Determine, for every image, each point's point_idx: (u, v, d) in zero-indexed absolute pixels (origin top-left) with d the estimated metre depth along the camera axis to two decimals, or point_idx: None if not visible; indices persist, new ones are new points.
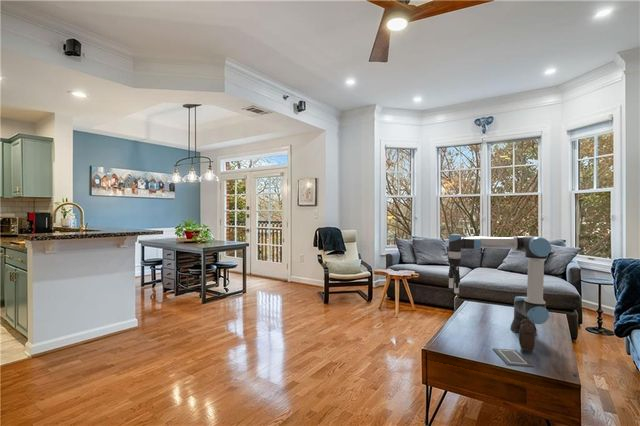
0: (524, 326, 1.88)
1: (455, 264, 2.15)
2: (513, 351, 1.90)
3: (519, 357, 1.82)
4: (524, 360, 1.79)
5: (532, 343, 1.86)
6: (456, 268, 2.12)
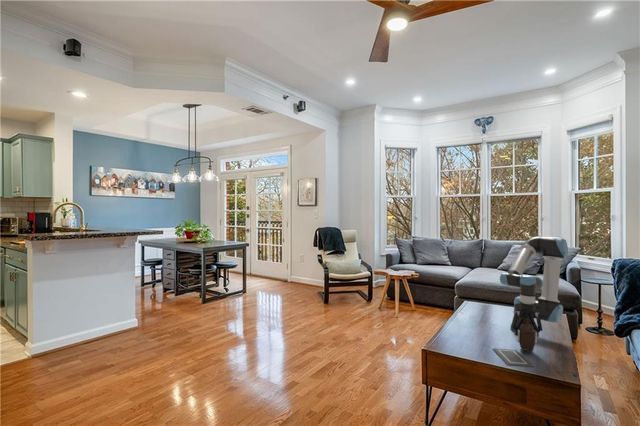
0: (524, 326, 1.88)
1: (520, 308, 1.93)
2: (513, 351, 1.90)
3: (519, 357, 1.82)
4: (524, 360, 1.79)
5: (532, 343, 1.86)
6: (514, 313, 1.94)
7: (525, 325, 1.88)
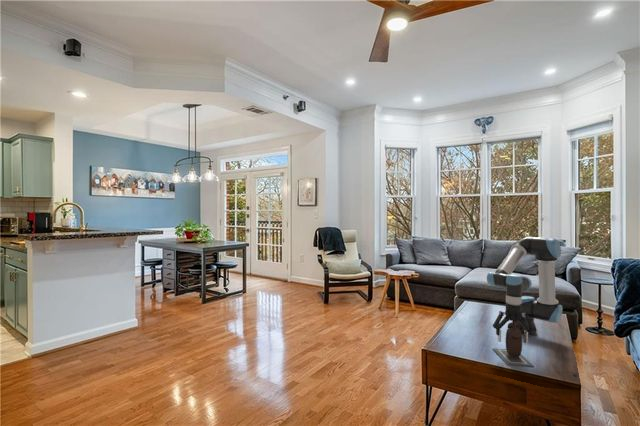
0: (511, 330, 1.78)
1: None
2: None
3: (519, 357, 1.82)
4: (524, 360, 1.79)
5: (519, 348, 1.76)
6: (499, 313, 1.84)
7: (512, 329, 1.78)
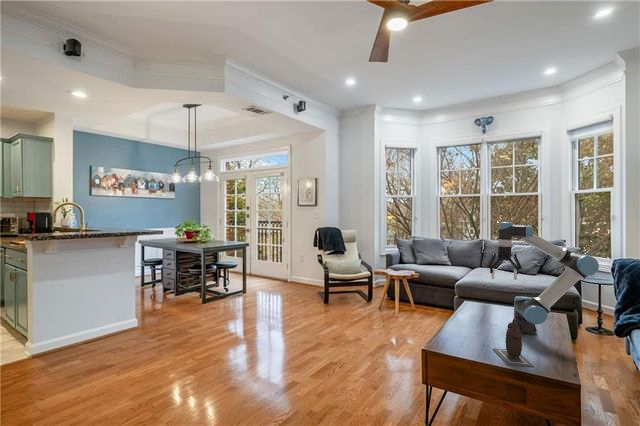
0: (511, 330, 1.78)
1: (498, 251, 2.16)
2: None
3: (519, 357, 1.82)
4: (524, 360, 1.79)
5: (519, 348, 1.76)
6: (493, 254, 2.17)
7: (512, 329, 1.78)
